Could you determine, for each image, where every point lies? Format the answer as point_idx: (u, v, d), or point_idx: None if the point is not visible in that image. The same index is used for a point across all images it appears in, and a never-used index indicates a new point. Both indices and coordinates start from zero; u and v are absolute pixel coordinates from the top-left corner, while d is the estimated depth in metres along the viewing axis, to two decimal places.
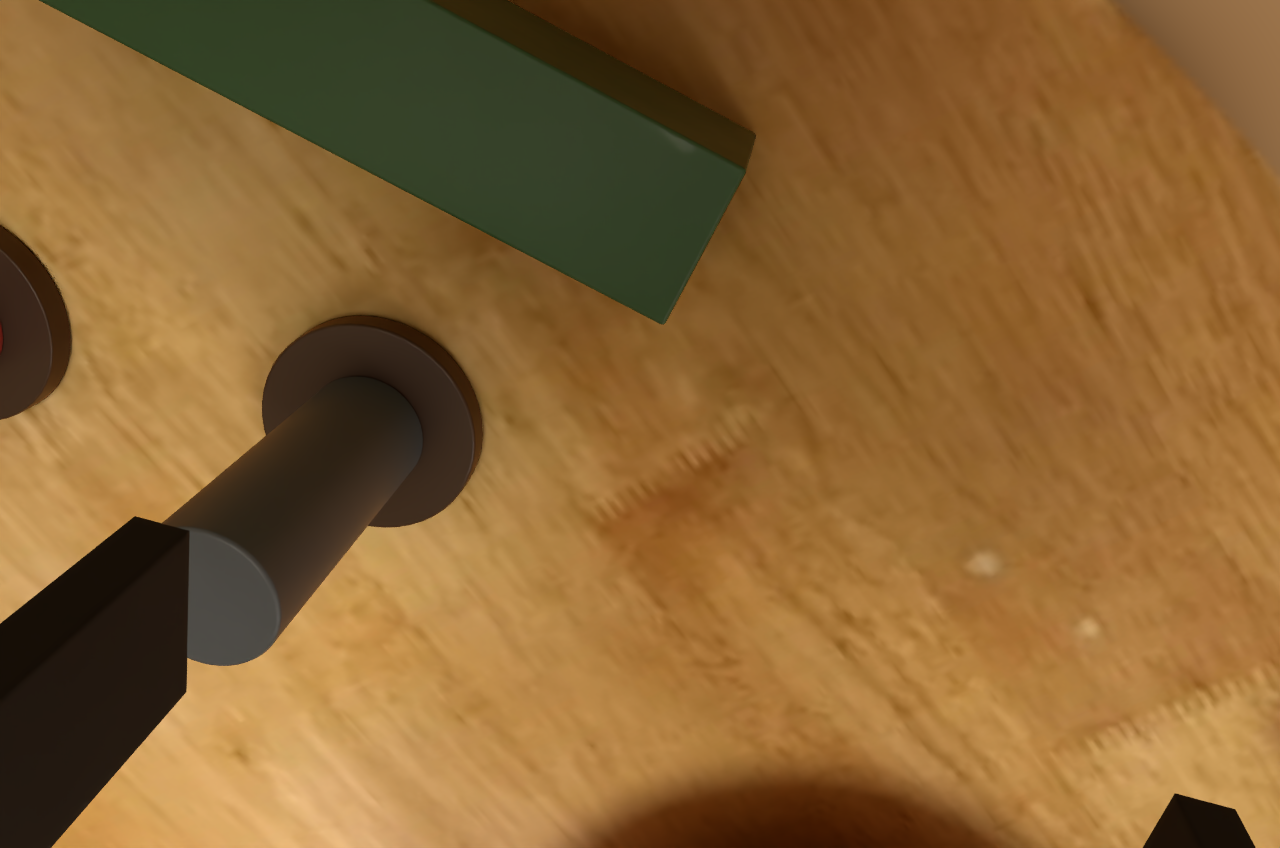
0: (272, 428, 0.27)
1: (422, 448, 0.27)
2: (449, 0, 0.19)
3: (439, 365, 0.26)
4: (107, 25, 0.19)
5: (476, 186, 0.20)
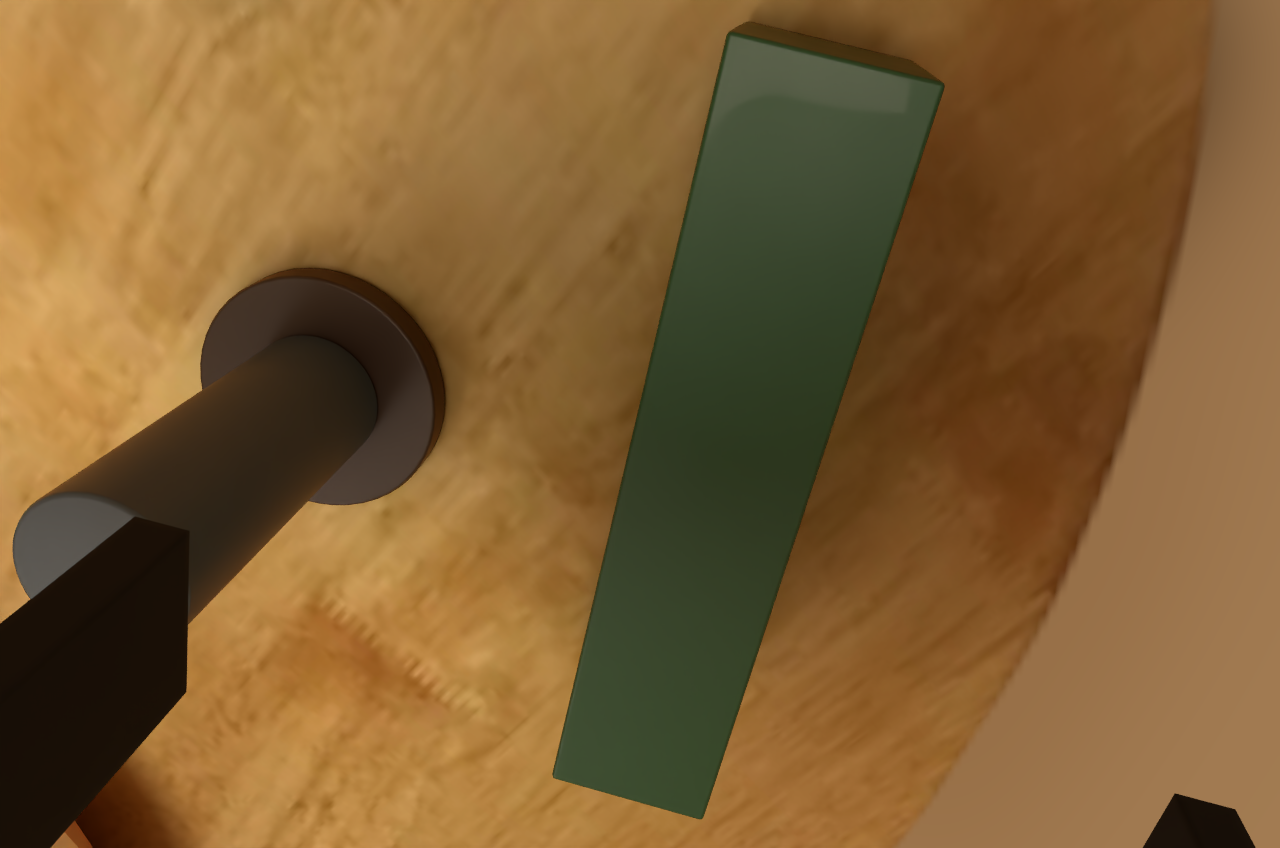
0: (270, 291, 0.23)
1: None
2: None
3: (419, 464, 0.25)
4: (685, 263, 0.17)
5: (625, 628, 0.20)
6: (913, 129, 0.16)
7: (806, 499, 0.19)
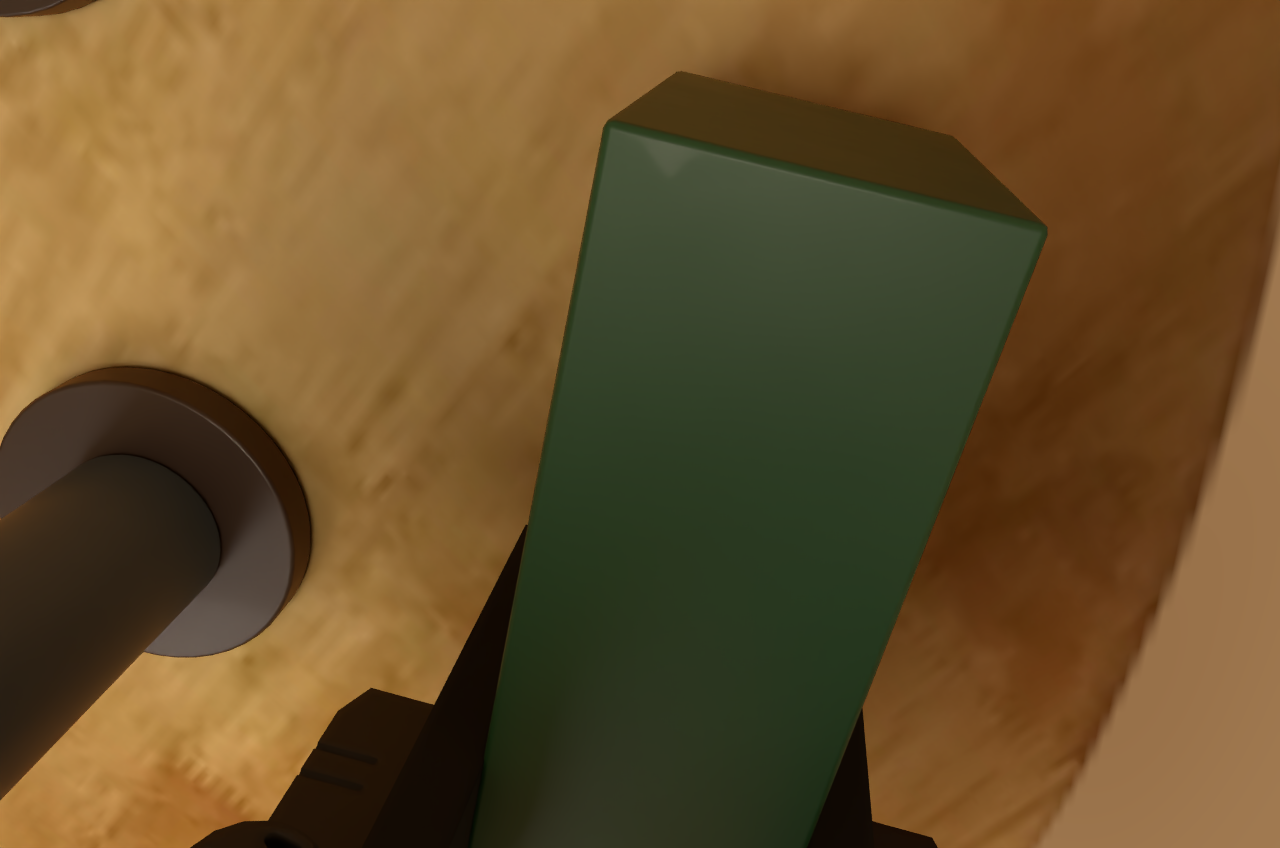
0: (73, 400, 0.18)
1: None
2: None
3: (278, 611, 0.19)
4: (547, 538, 0.09)
5: None
6: (982, 314, 0.08)
7: None
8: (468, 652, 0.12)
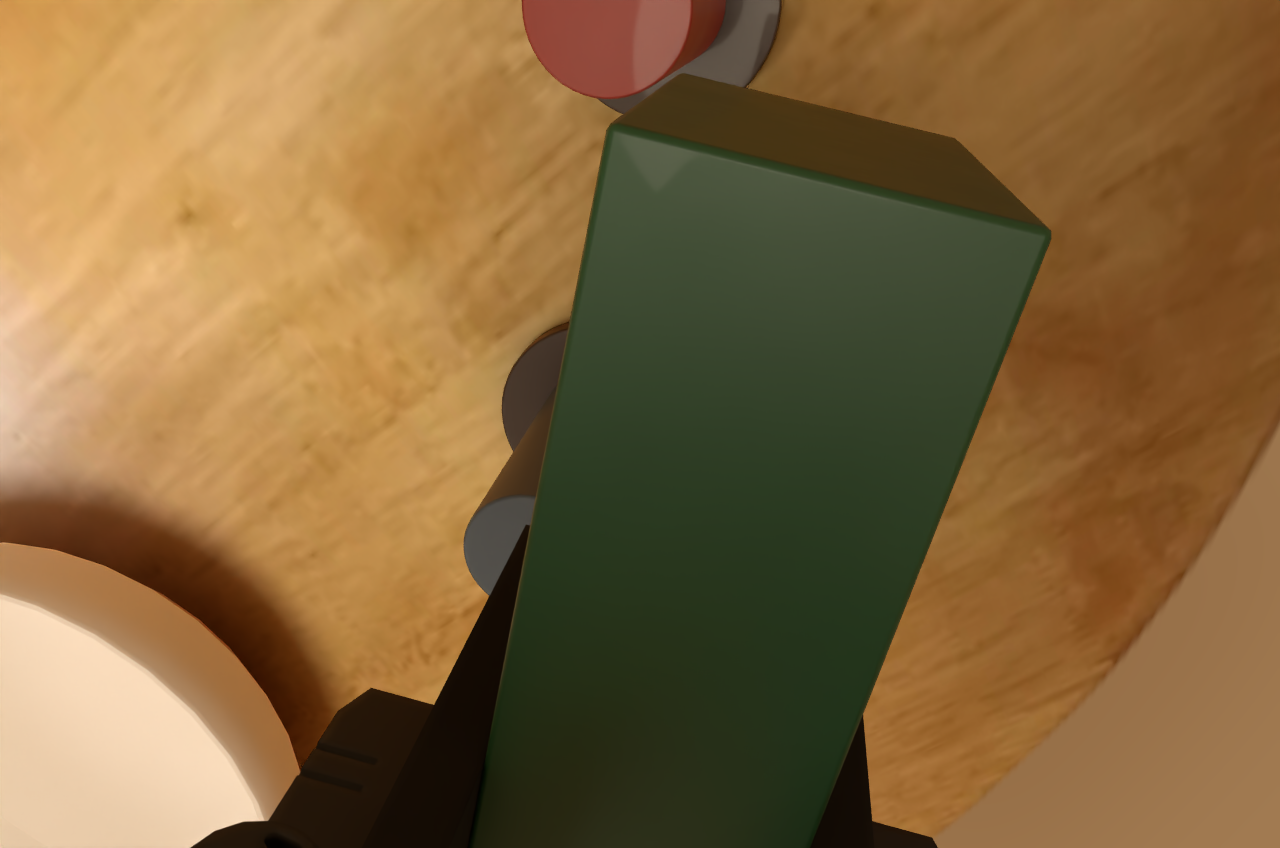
0: None
1: None
2: None
3: None
4: (549, 541, 0.09)
5: None
6: (985, 318, 0.08)
7: None
8: (468, 652, 0.12)
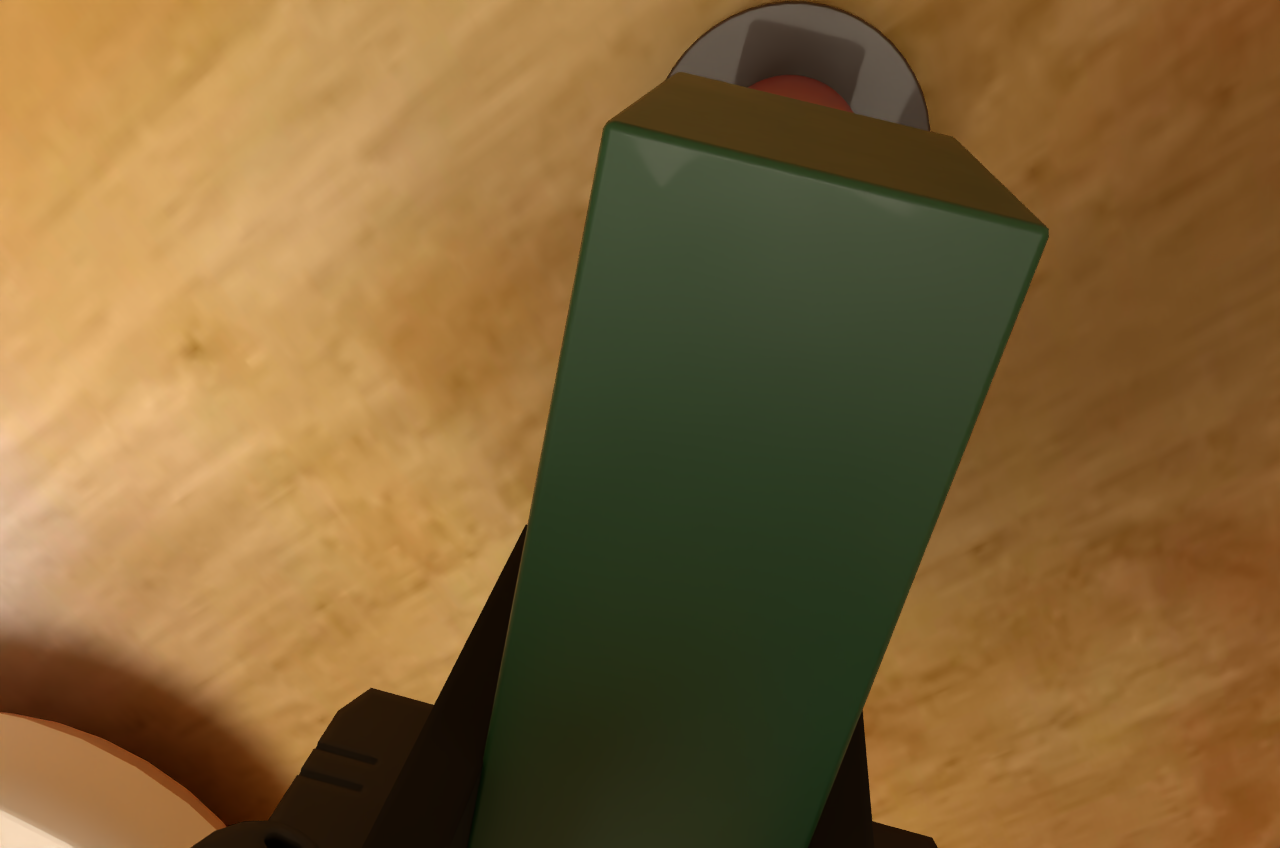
0: None
1: None
2: None
3: None
4: (547, 540, 0.09)
5: None
6: (983, 316, 0.08)
7: None
8: (468, 652, 0.12)
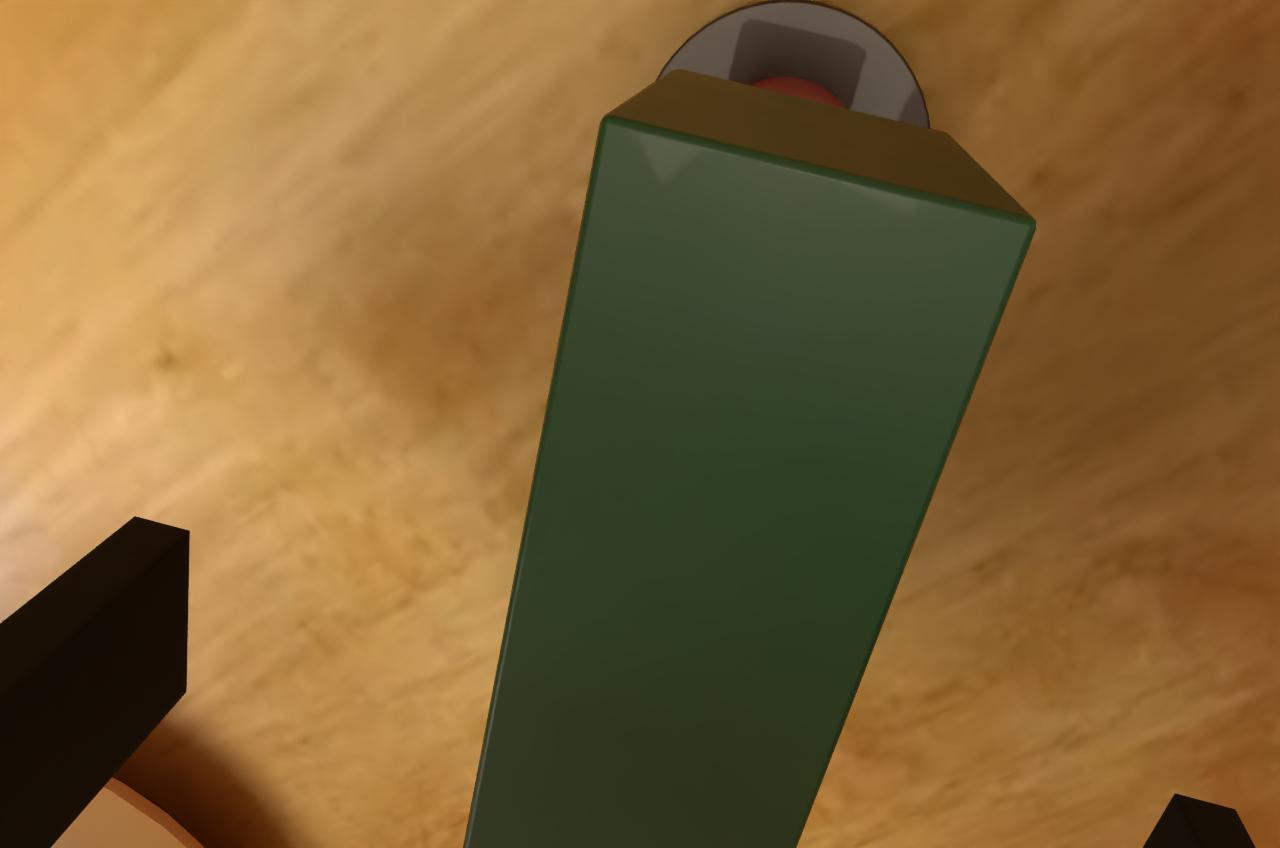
0: None
1: None
2: None
3: None
4: (545, 528, 0.09)
5: None
6: (972, 306, 0.08)
7: None
8: None
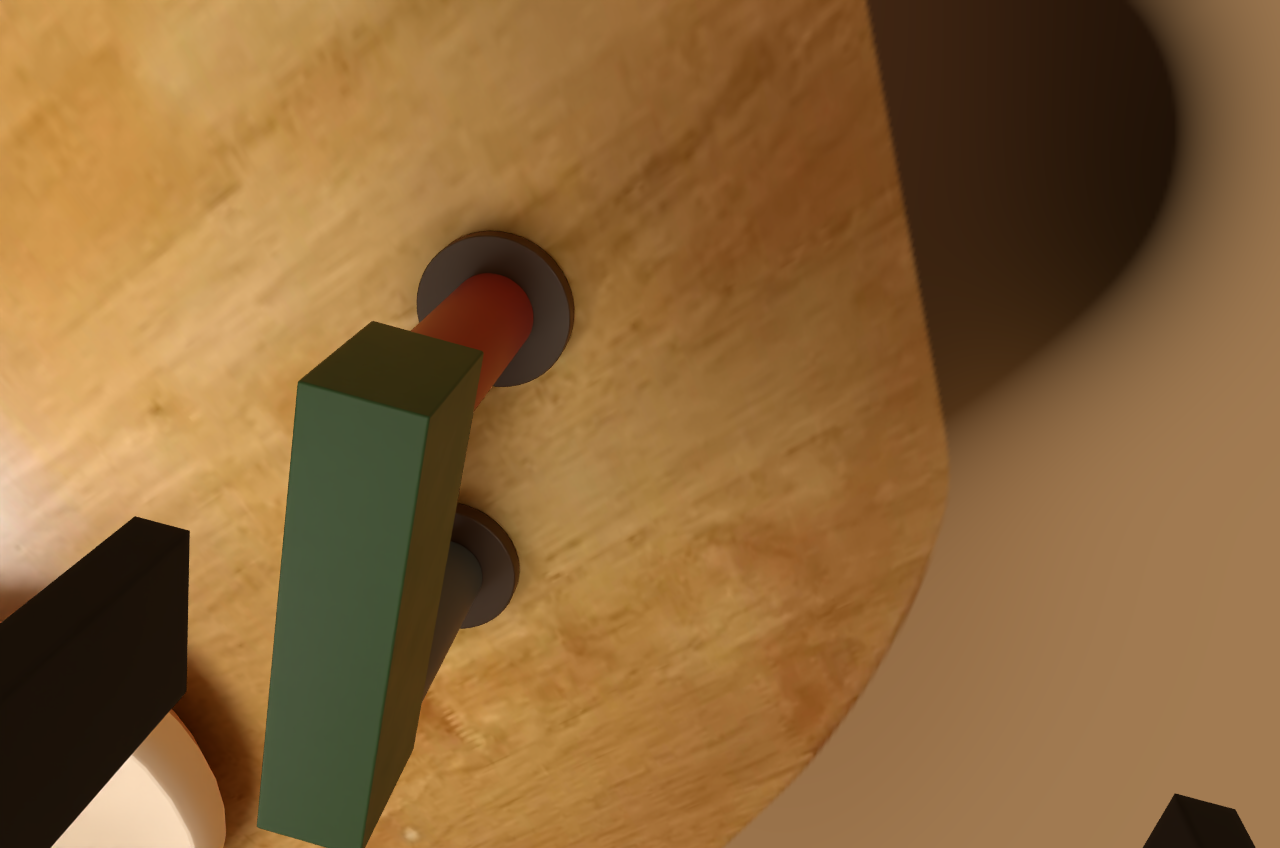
0: None
1: None
2: (397, 680, 0.30)
3: None
4: (292, 509, 0.27)
5: (290, 730, 0.30)
6: (415, 441, 0.25)
7: (391, 652, 0.28)
8: None
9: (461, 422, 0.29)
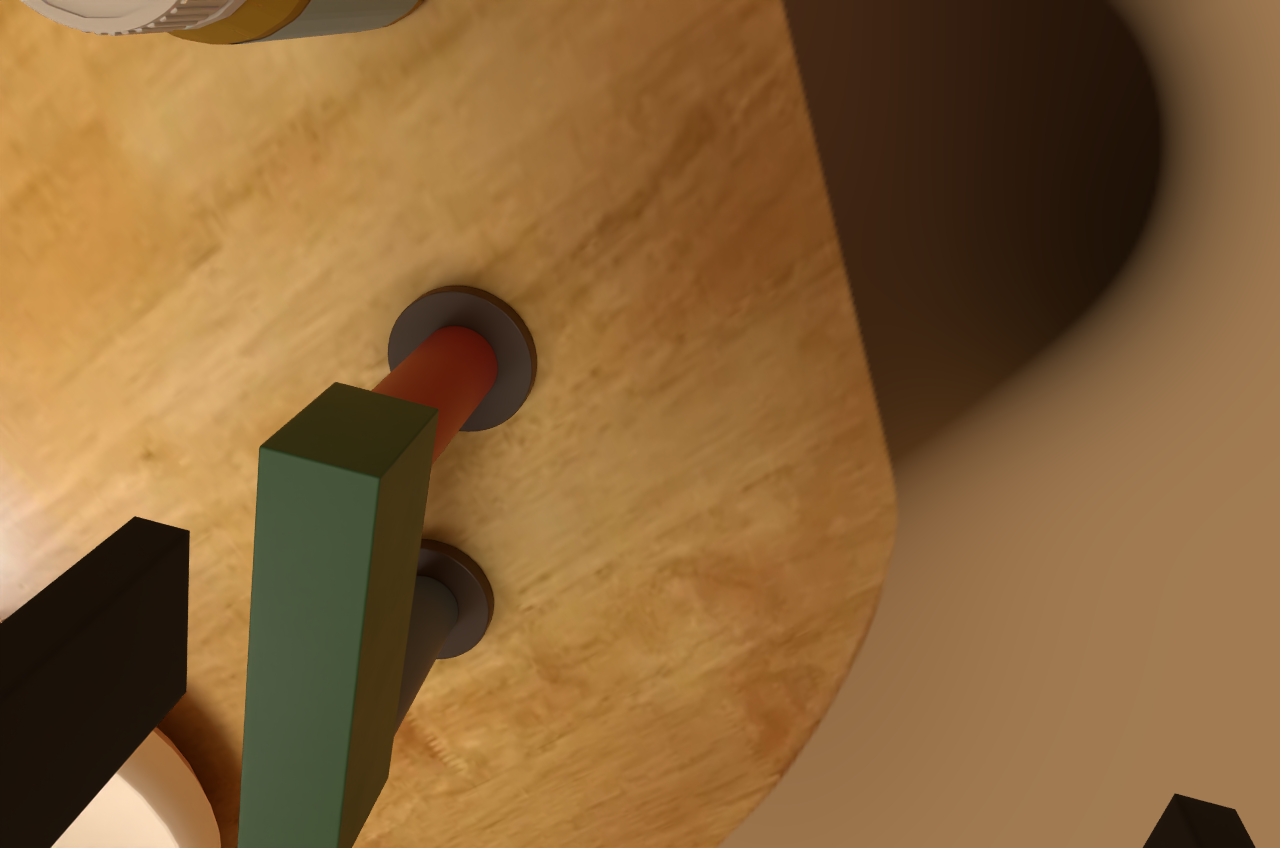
0: None
1: None
2: (363, 717, 0.32)
3: (470, 649, 0.46)
4: (259, 562, 0.29)
5: (264, 764, 0.32)
6: (368, 499, 0.28)
7: (354, 692, 0.30)
8: None
9: (418, 476, 0.31)
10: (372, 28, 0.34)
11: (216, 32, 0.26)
